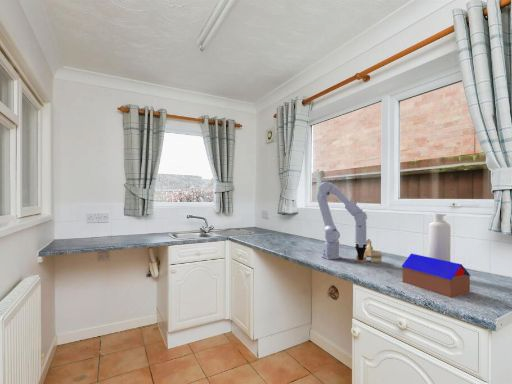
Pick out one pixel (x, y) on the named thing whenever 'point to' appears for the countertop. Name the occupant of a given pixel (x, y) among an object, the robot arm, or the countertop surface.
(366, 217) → the robot arm
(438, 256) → the bottle
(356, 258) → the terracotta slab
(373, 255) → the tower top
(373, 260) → the tower bottom
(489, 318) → the countertop surface
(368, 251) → the bone
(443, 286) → the house
